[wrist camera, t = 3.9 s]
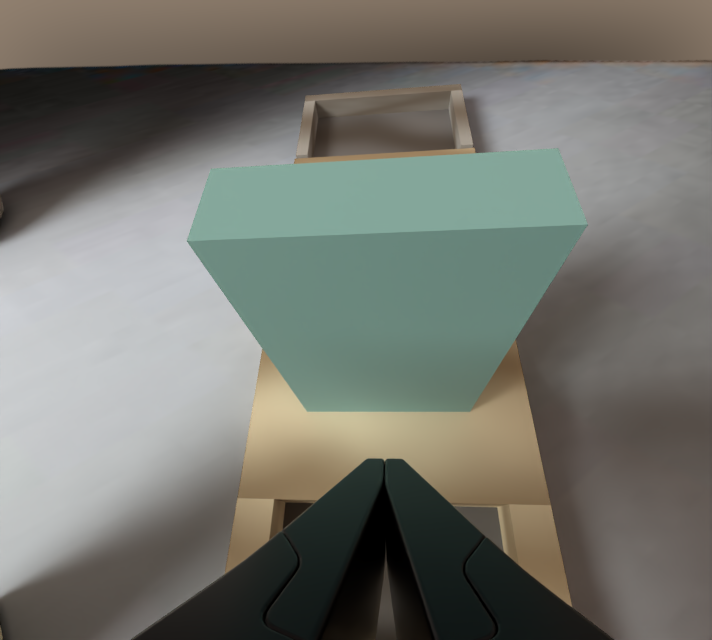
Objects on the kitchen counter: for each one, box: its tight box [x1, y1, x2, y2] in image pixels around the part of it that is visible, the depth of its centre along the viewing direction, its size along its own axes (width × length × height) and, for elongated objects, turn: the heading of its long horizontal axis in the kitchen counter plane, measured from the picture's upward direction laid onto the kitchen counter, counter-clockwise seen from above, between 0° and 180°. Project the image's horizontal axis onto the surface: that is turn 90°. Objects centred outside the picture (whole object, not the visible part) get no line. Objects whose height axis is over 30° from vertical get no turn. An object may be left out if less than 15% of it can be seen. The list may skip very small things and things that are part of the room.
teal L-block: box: [187, 148, 588, 412], centre depth 14 cm, size 11×7×11 cm, turn 179°
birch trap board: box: [225, 84, 573, 640], centre depth 20 cm, size 37×12×2 cm, turn 179°
